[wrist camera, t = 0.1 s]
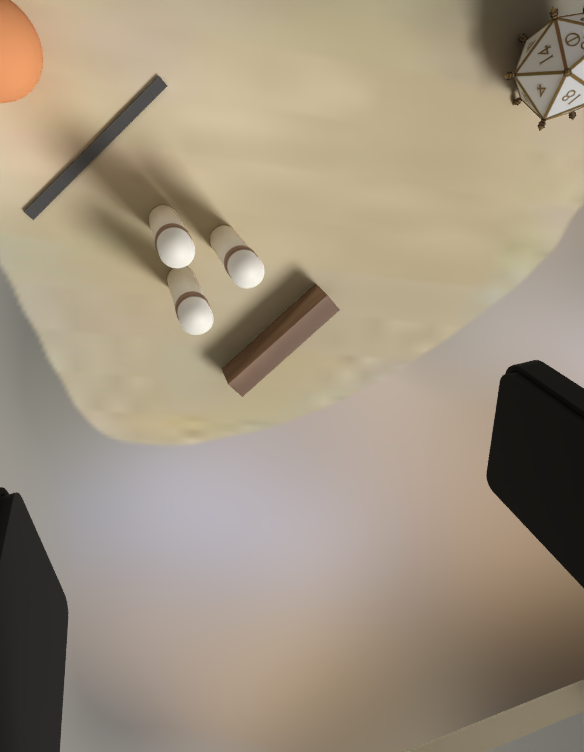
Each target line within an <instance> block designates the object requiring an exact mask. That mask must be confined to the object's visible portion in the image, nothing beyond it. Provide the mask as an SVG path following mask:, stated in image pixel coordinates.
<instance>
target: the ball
mask: <svg viewBox="0 0 584 752" xmlns="http://www.w3.org/2000/svg"><path fill="white" fill-rule="evenodd" d="M42 68H43V52H42V46H41V43H40V39H39V37H38V34H37V32H36V30H35V28H34V26H33V24H32V23H31V21H30V20H29V18H28V17H27V16H26V15H25V13H24V12H23V11H22V10H21V9H20V8H19V7H18V6H17V5H16V4H14V3H13V2H12V1H11V0H0V103H7V102H12V101H16V100H18V99H21V98H23V97H24V96H26V95H27V94H28V93H30V92H31V91H32V90H33V88H34V87H35V86H36V84H37V82H38V81H39V78H40V76H41V72H42Z"/></svg>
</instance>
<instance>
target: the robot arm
mask: <svg viewBox="0 0 584 752" xmlns="http://www.w3.org/2000/svg"><path fill="white" fill-rule="evenodd" d="M487 481H488V484H489V486H490V488H491V489H492V491H493V492H494V493H495V494H496V495H497V496H498V497H499V499H501V501H502V502H503V503H504V504H505V505H506V506H507V507H508V508H509V509H510V510H511V511H512V512H513V513H514V514H515V515H516V517H517V518H518V519H519V520H520V521H521V522H522V523H523V524H524V525H525V526H526V527H527V528H528V529H529V530H530V532H531V533H532V534H533V535H534V536H535V537H536V538H537V539H538V540H539V541H540V542H541V543H542V544H543V545H544V546H545V547H546V548H547V550H548V551H549V552H550V553H551V554H552V555H553V556H554V557H555V558H556V559H557V560H558V561H559V562H560V563H561V564H562V566H564V568H565V569H566V570H567V571H568V572H569V573H570V574H571V575H572V576H573V577H574V578H575V579H576V580H577V581H578V583H579V584H580V585H581V586H582V587H583V588H584V388H582V387H581V386H579V385H577V384H576V383H574V382H573V381H571V380H570V379H568V378H567V377H565V376H564V375H562V374H560V373H559V372H557V371H556V370H554V369H553V368H551V367H549V366H548V365H546V364H545V363H543V362H541V361H539V360H533V361H529V362H525V363H521V364H517V365H513V366H510V367H509V368H508V369H507V371H506V374H505V375H503V376H502V378H501V380H500V385H499V392H498V399H497V405H496V413H495V419H494V426H493V433H492V440H491V447H490V453H489V460H488V467H487ZM67 628H68V606H67V601H66V597H65V594H64V592H63V590H62V587H61V585H60V583H59V580H58V578H57V576H56V574H55V571H54V569H53V567H52V565H51V563H50V560H49V558H48V556H47V553H46V551H45V549H44V547H43V544H42V542H41V540H40V538H39V536H38V533H37V531H36V528H35V526H34V524H33V522H32V519H31V517H30V515H29V513H28V510H27V508H26V506H25V503H24V501H23V499H22V497H21V495H20V494H19V493H13V494H9V493H8V492H7V490H5V488H2V487H1V488H0V752H60V738H61V722H62V707H63V691H64V675H65V660H66V644H67ZM405 752H584V680H581V681H579V682H576V683H574V684H572V685H569V686H566V687H564V688H561V689H559V690H556V691H554V692H551V693H549V694H546V695H544V696H541V697H539V698H536V699H534V700H531V701H529V702H526V703H525V704H522V705H519V706H516V707H514V708H512V709H509V710H507V711H504V712H502V713H500V714H496V715H494V716H492V717H489V718H487V719H484V720H482V721H480V722H477V723H474V724H472V725H469V726H467V727H464V728H462V729H459V730H457V731H454V732H452V733H449V734H447V735H444V736H442V737H439V738H437V739H434V740H432V741H429V742H427V743H424V744H422V745H419V746H417V747H414V748H412V749H410V750H407V751H405Z"/></svg>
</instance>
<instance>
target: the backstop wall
mask: <svg viewBox="0 0 584 752" xmlns="http://www.w3.org/2000/svg"><path fill="white" fill-rule="evenodd" d="M338 311H339V308H338V307H337V306H336V305H335V304H334V302H333V301H332V300H331V299H330V298H329V296H328V295H327V294H326V293H325V292H324V291H323V290H322V289H321V288H320V287H319V286H317V285H314V286H313V287H312V288H311V289H310V290H309V291H308V292H307V293H306V294H305V295H303V296H302V297H301V298H300V299H299V300H298V301H297V302H296V303H295V304H293V305H292V306H291V307H290V308H289V309H288V310H287V311H286V312H285V313H284V314H282V315H281V316H280V317H279V318H278V319H277V320H276V321H275V322H274V323H273V324H271V325H270V326H269V327H268V328H267V329H266V330H265V331H264V332H263V333H261V334H260V335H259V336H258V337H257V338H256V339H255V340H254V341H253V342H252V343H250V344H249V345H248V346H247V347H246V348H245V349H244V350H243V351H242V352H241V353H239V354H238V355H237V356H236V357H235V358H234V359H233V360H232V361H231V362H229V363H228V364H227V365H226V366H225V367H224V368H223V369H222V370H223V373H224V375H225V378H226V380H227V383H228V385H230V386H231V387H232V388H233V389H234V390H235V391H236V392H238V393H239V394H240V395H241V396H242V397H243V396H244V395H245V394H246V393H247V392H248V391H250V390H251V389H252V388H253V387H254V386H255V385H256V384H257V383H258V382H260V381H261V380H262V379H263V378H264V377H265V376H266V375H267V374H269V373H270V372H271V371H272V370H273V369H274V368H275V367H276V366H278V365H279V364H280V363H281V362H282V361H283V360H284V359H285V358H286V357H288V356H289V355H290V354H291V353H292V352H293V351H294V350H295V349H297V348H298V347H299V346H300V345H301V344H302V343H303V342H304V341H306V340H307V339H308V338H309V337H310V336H311V335H312V334H313V333H314V332H316V331H317V330H318V329H319V328H320V327H321V326H322V325H323V324H325V323H326V322H327V321H328V320H329V319H330V318H331V317H332V316H333V315H335V314H336V313H337V312H338Z"/></svg>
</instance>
